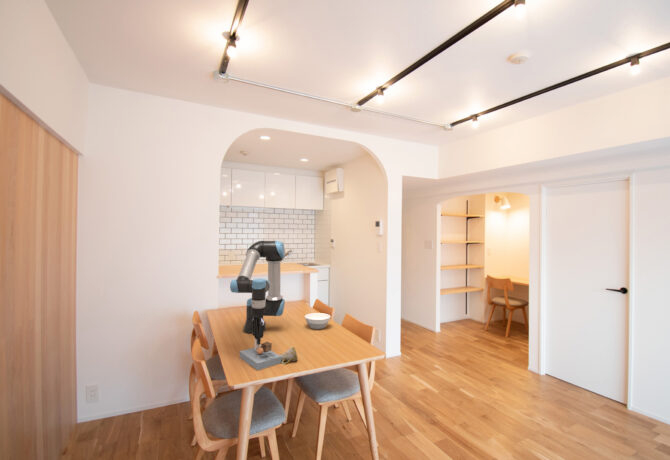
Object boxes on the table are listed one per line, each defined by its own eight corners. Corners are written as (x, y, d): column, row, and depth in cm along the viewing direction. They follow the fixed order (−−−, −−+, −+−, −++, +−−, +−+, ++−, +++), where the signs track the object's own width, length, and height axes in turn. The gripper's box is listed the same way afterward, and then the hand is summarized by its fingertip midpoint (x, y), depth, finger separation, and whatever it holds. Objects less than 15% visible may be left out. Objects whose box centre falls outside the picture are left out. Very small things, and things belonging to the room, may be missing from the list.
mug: (277, 359, 171) (286, 342, 174) (293, 367, 171) (301, 350, 174) (277, 361, 164) (286, 343, 167) (293, 369, 164) (302, 351, 167)
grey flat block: (239, 357, 172) (239, 351, 172) (262, 351, 181) (262, 345, 181) (257, 370, 156) (257, 363, 156) (281, 363, 165) (281, 356, 166)
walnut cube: (261, 350, 173) (261, 343, 173) (266, 348, 176) (266, 341, 176) (266, 352, 171) (266, 345, 171) (271, 350, 174) (271, 343, 174)
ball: (258, 354, 165) (256, 355, 168) (264, 352, 167) (262, 354, 170) (257, 347, 167) (255, 348, 169) (263, 346, 169) (261, 347, 171)
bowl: (335, 326, 233) (335, 315, 233) (320, 333, 217) (320, 321, 217) (314, 322, 244) (314, 311, 244) (299, 328, 227) (299, 316, 227)
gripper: (246, 305, 173) (245, 347, 173) (257, 310, 164) (256, 354, 163) (259, 304, 178) (258, 344, 178) (270, 308, 169) (269, 351, 168)
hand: (257, 349), depth 171 cm, fingers closed
